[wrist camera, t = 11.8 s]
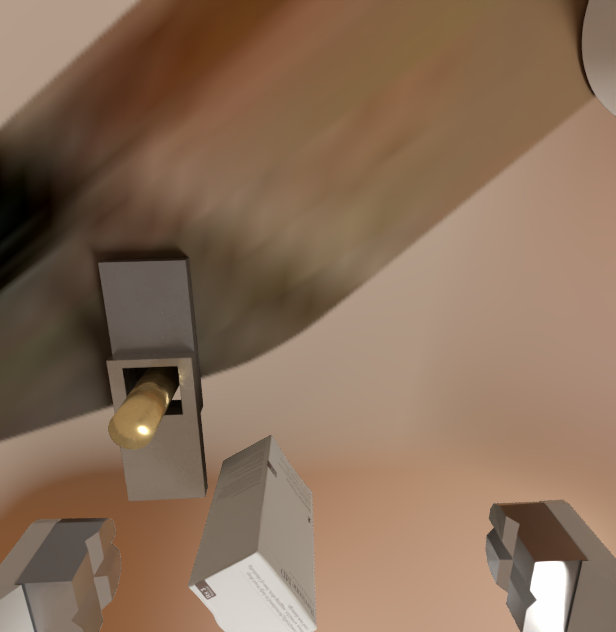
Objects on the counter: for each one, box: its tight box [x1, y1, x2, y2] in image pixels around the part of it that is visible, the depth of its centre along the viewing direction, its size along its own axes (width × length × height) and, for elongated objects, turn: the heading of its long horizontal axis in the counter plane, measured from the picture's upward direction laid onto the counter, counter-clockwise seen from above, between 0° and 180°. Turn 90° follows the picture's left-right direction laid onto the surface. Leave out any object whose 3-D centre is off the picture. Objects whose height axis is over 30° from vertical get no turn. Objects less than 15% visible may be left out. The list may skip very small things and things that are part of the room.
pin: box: [108, 366, 180, 450], centre depth 37 cm, size 3×3×9 cm
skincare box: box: [188, 435, 317, 632], centre depth 37 cm, size 8×6×15 cm
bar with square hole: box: [98, 258, 208, 501], centre depth 39 cm, size 7×22×3 cm, turn 1°
